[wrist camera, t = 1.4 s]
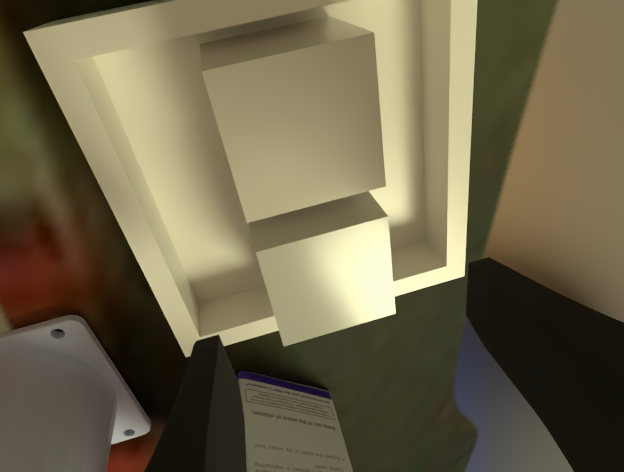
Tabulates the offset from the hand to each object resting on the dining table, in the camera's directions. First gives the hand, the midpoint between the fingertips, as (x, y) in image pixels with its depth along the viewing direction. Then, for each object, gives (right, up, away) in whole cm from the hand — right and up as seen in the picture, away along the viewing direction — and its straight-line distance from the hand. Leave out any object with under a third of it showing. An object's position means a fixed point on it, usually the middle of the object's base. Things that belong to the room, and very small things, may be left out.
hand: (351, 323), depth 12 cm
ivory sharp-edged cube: (-2, +7, +2) cm, 8 cm away
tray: (-2, +5, +4) cm, 7 cm away
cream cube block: (-1, +3, +5) cm, 6 cm away
